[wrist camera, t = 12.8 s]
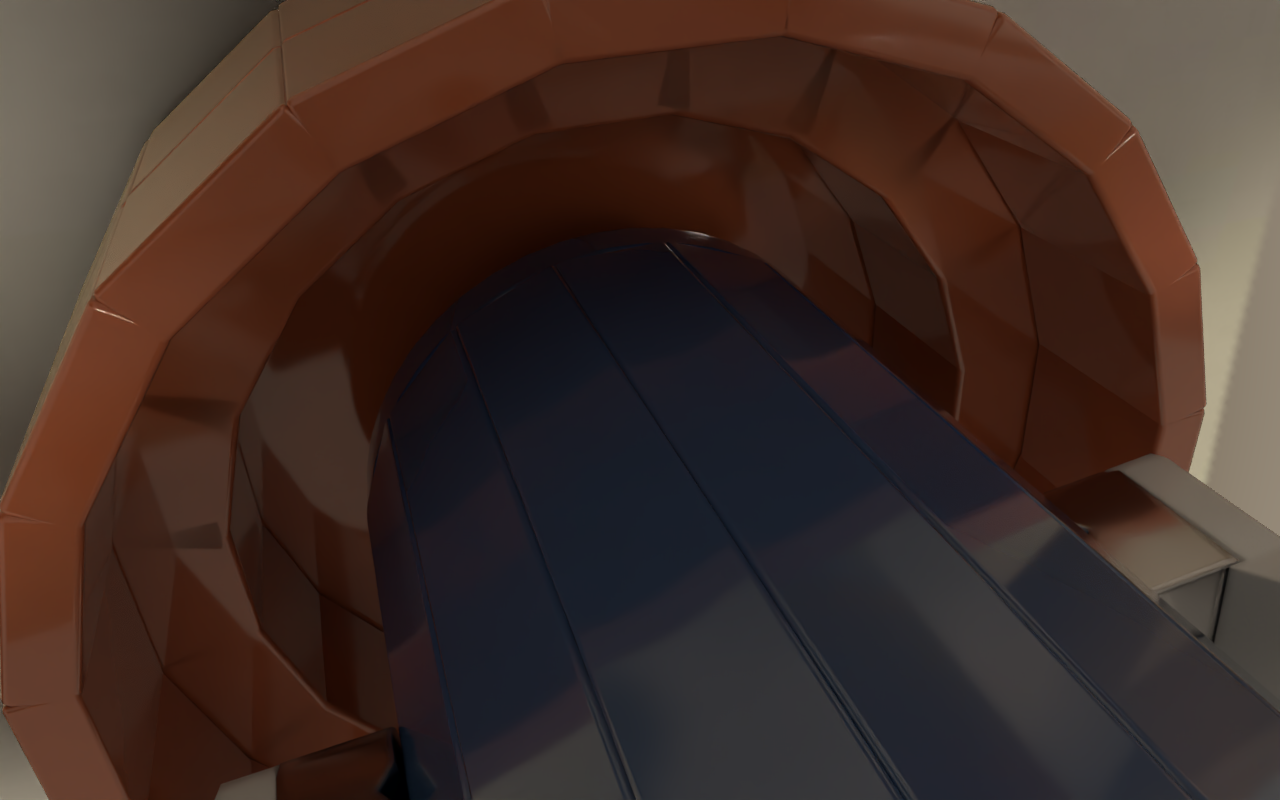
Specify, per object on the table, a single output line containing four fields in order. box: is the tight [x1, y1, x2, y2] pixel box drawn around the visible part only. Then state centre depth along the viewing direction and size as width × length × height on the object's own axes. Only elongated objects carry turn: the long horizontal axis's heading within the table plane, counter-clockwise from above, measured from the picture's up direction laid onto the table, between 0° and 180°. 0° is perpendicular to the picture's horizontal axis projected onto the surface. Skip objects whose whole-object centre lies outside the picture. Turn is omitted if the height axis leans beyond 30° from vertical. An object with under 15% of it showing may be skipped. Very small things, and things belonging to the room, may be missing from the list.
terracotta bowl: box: [0, 0, 1206, 800], centre depth 12 cm, size 12×12×5 cm
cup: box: [367, 228, 1280, 800], centre depth 9 cm, size 6×6×9 cm
